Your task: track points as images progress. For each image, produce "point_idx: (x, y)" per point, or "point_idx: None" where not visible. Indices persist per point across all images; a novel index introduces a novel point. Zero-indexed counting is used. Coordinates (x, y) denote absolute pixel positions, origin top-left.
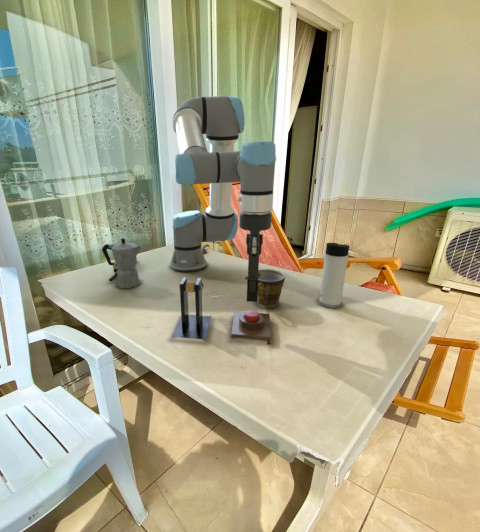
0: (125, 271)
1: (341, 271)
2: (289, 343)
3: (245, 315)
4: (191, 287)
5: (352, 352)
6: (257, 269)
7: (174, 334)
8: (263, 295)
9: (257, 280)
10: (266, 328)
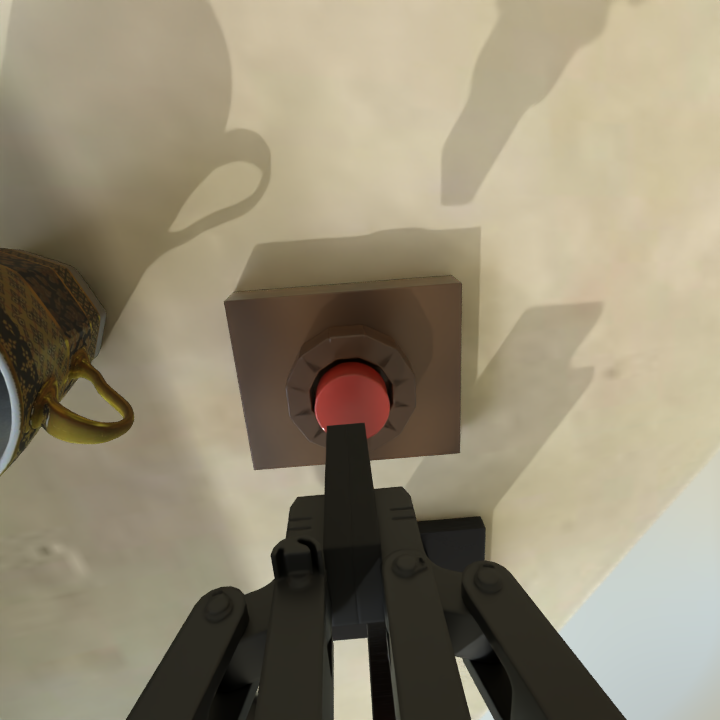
0: None
1: None
2: (426, 184)
3: (370, 433)
4: None
5: None
6: (611, 711)
7: None
8: (77, 361)
9: (496, 565)
10: (385, 308)
